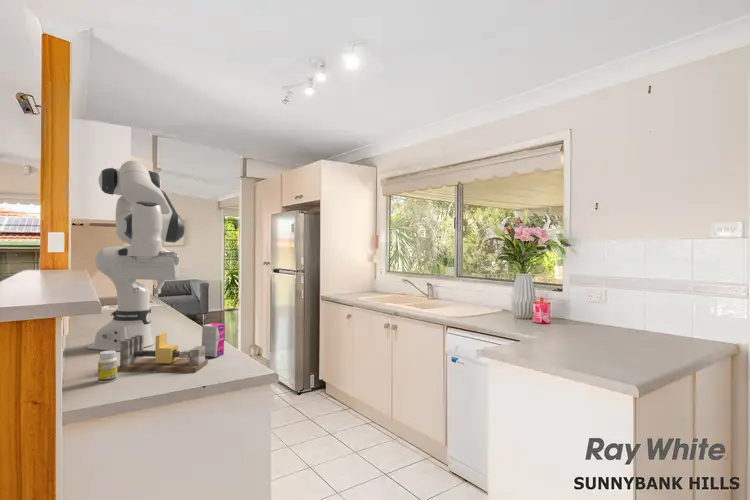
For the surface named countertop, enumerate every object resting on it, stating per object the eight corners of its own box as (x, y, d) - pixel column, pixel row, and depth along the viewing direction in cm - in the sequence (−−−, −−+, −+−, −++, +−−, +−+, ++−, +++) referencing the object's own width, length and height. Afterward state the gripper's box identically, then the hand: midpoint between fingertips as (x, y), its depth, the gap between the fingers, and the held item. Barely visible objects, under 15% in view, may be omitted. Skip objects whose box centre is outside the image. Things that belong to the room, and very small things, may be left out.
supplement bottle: (100, 378, 125) (100, 350, 125) (118, 377, 127) (118, 349, 127) (96, 383, 121) (96, 354, 121) (115, 382, 123) (115, 353, 122)
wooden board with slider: (119, 371, 133) (119, 341, 133) (136, 362, 143) (137, 334, 143) (195, 372, 133) (195, 342, 133) (207, 363, 143) (208, 335, 143)
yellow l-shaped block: (155, 363, 136) (155, 335, 135) (162, 359, 140) (163, 332, 140) (170, 363, 136) (171, 336, 136) (177, 359, 140) (178, 332, 140)
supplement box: (215, 358, 150) (216, 326, 150) (200, 357, 151) (201, 325, 151) (224, 354, 155) (225, 323, 155) (210, 353, 157) (210, 322, 156)
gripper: (183, 251, 141) (182, 292, 141) (121, 250, 141) (121, 291, 141) (174, 251, 135) (173, 295, 135) (109, 250, 134) (109, 293, 134)
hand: (146, 293), depth 138 cm, fingers open, 6 cm apart
